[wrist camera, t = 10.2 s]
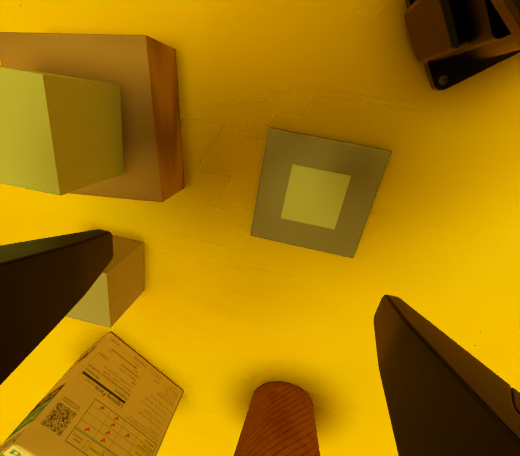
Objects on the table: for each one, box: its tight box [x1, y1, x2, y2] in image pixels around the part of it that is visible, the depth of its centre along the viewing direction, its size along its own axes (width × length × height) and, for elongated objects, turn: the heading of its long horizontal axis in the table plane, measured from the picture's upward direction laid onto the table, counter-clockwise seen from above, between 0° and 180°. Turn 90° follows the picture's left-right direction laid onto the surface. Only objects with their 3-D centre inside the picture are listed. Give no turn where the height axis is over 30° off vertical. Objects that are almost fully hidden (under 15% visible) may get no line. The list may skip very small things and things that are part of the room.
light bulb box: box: [0, 332, 183, 456], centre depth 26 cm, size 11×7×11 cm, turn 44°
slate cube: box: [66, 230, 144, 328], centre depth 23 cm, size 5×5×5 cm
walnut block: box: [0, 32, 184, 202], centre depth 18 cm, size 9×9×4 cm
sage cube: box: [0, 65, 124, 195], centre depth 14 cm, size 5×5×5 cm
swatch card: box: [250, 128, 392, 258], centre depth 20 cm, size 8×8×1 cm
